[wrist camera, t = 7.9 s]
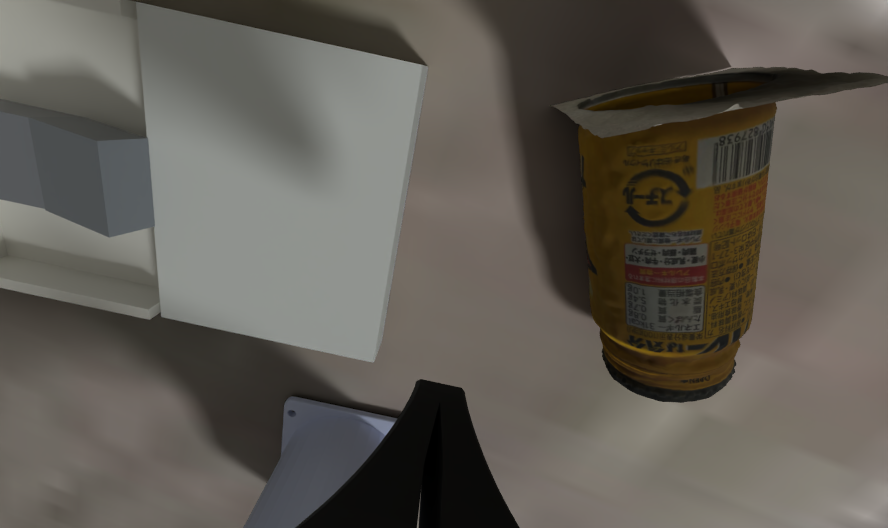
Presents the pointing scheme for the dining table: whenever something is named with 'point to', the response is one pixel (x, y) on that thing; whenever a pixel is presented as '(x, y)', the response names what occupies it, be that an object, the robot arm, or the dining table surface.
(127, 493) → the dining table surface
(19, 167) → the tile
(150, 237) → the tray
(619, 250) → the condiment
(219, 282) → the board
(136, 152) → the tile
